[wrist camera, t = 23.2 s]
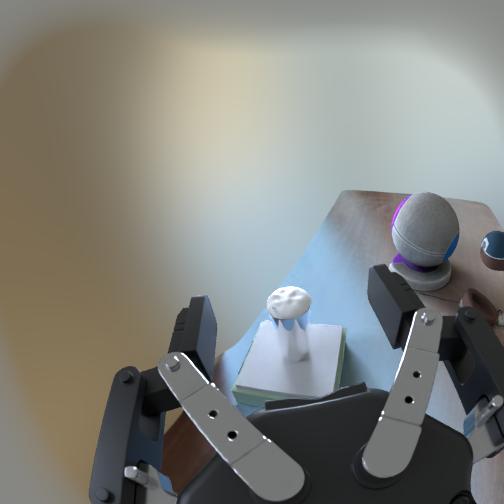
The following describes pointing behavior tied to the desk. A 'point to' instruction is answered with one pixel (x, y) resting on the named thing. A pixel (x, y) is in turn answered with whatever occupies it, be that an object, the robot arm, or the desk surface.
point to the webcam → (424, 240)
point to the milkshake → (291, 321)
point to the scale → (290, 367)
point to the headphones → (496, 258)
